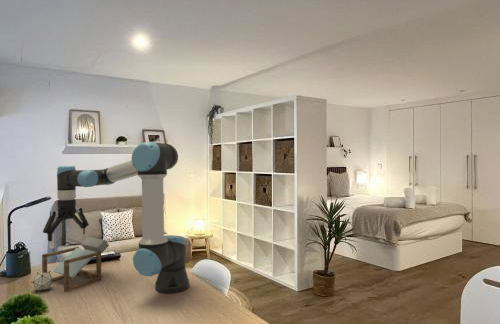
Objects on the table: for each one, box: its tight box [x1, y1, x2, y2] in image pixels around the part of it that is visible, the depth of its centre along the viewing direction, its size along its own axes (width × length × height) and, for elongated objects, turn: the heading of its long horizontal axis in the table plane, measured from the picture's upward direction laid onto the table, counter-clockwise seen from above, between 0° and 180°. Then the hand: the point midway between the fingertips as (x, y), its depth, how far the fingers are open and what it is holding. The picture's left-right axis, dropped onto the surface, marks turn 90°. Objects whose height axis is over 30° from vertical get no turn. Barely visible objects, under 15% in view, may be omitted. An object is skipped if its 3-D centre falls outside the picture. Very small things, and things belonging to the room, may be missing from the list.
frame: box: [41, 246, 102, 293], centre depth 157 cm, size 20×17×14 cm
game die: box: [30, 270, 56, 293], centre depth 147 cm, size 9×8×10 cm
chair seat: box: [53, 236, 110, 279], centre depth 162 cm, size 16×22×4 cm
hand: (67, 244), depth 155 cm, fingers open, 13 cm apart
